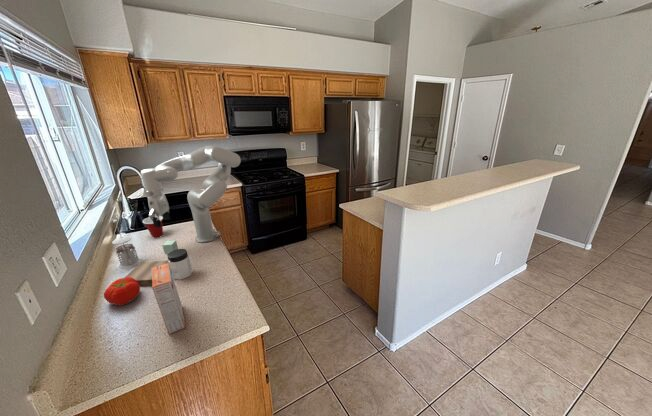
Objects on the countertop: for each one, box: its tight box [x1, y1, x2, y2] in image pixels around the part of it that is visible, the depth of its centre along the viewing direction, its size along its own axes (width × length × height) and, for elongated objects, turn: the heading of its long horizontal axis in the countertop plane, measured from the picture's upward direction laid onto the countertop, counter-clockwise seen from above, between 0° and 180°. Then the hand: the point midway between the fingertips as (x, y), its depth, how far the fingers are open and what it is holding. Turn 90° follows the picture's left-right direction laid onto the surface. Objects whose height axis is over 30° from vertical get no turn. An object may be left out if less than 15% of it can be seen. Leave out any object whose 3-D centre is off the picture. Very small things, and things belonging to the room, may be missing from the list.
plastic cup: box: [142, 215, 164, 239], centre depth 164 cm, size 11×11×12 cm
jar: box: [167, 248, 193, 280], centre depth 124 cm, size 9×8×12 cm
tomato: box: [103, 276, 141, 306], centre depth 109 cm, size 13×12×8 cm
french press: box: [111, 219, 142, 269], centre depth 132 cm, size 10×12×25 cm
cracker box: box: [151, 263, 186, 335], centre depth 95 cm, size 14×6×21 cm, turn 32°
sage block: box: [162, 239, 179, 255], centre depth 146 cm, size 5×5×6 cm
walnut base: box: [123, 259, 169, 287], centre depth 126 cm, size 16×16×3 cm
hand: (162, 223), depth 140 cm, fingers open, 9 cm apart
